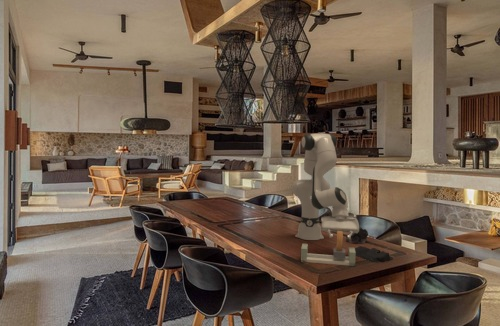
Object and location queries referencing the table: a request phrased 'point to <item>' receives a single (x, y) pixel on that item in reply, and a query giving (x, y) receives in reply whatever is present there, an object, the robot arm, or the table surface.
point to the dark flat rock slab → (372, 254)
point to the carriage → (339, 246)
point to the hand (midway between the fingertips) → (340, 238)
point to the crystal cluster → (358, 236)
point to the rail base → (327, 261)
